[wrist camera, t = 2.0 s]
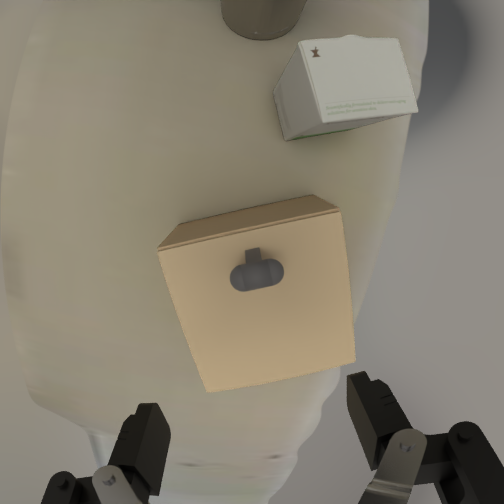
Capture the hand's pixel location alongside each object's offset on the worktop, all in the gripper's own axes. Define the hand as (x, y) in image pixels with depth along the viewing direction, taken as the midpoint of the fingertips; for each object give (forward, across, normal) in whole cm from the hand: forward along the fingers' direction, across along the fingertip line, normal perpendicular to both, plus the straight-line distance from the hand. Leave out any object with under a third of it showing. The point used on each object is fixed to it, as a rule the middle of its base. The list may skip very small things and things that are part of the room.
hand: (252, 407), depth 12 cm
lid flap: (+16, -1, +4) cm, 17 cm away
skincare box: (+26, -10, -14) cm, 32 cm away
